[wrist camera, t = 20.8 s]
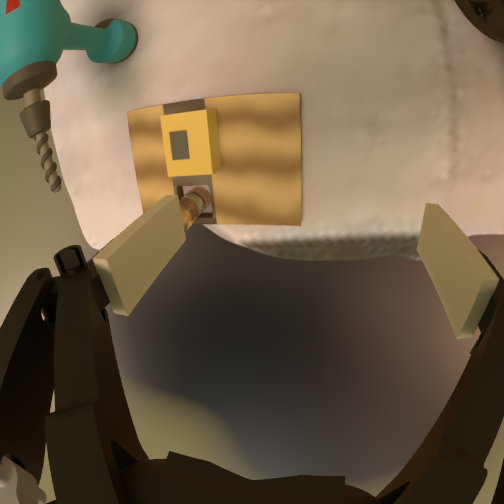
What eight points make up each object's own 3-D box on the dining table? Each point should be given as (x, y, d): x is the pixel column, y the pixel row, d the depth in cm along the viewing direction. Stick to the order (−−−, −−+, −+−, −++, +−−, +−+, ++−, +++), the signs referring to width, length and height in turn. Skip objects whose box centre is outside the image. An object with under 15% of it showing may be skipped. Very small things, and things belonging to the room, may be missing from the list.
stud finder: (173, 113, 35) (159, 116, 31) (216, 108, 33) (205, 109, 30) (180, 169, 38) (167, 177, 35) (221, 166, 37) (211, 174, 34)
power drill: (169, 141, 39) (54, 197, 19) (123, 156, 41) (10, 217, 21) (134, -14, 26) (23, -50, 6) (91, 10, 28) (-21, 0, 8)
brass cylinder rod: (187, 187, 42) (150, 219, 32) (208, 186, 41) (176, 219, 31) (190, 208, 44) (156, 245, 33) (211, 207, 43) (181, 246, 33)
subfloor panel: (133, 110, 37) (126, 112, 35) (299, 93, 33) (299, 92, 31) (151, 219, 46) (145, 224, 44) (301, 219, 42) (301, 225, 40)
